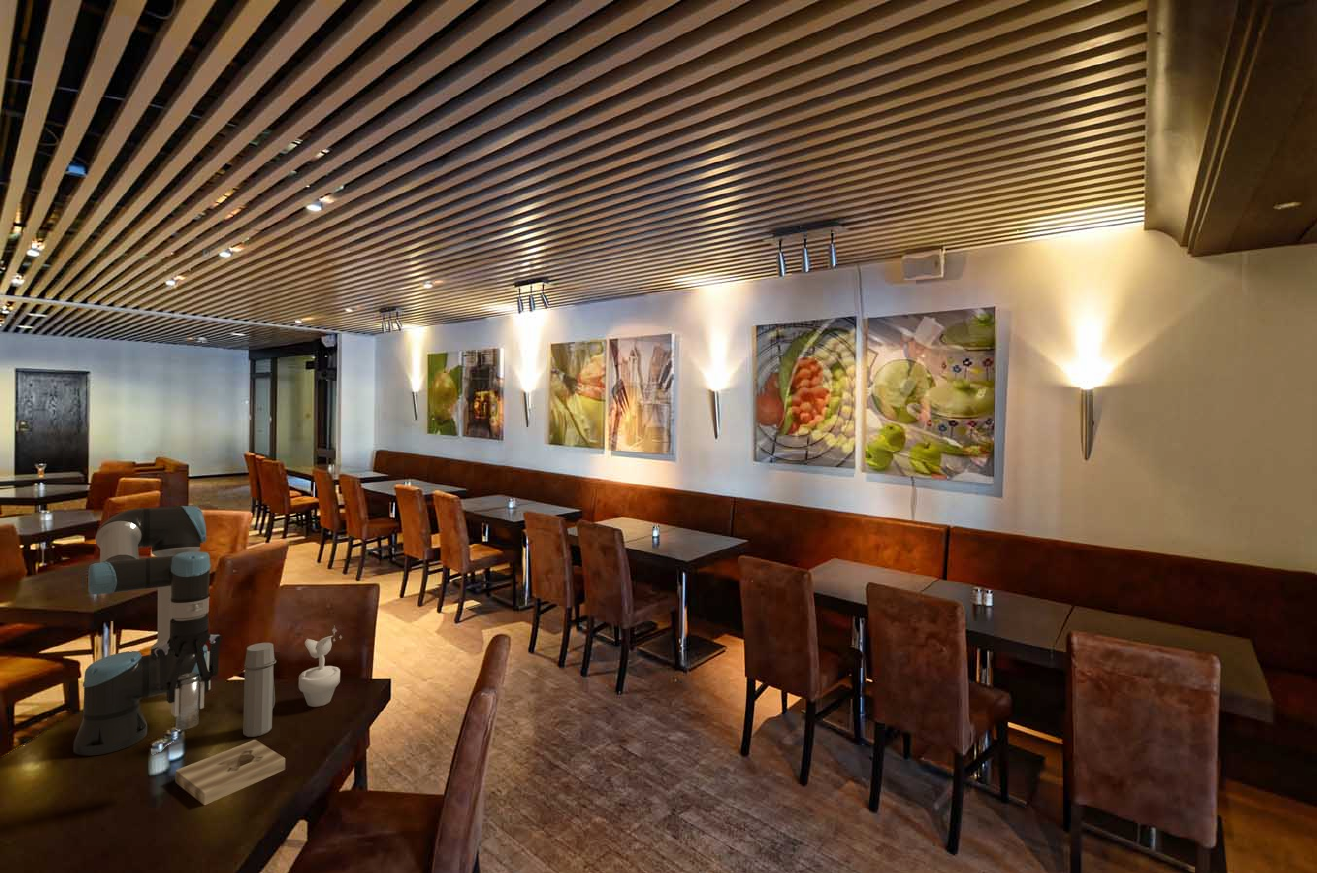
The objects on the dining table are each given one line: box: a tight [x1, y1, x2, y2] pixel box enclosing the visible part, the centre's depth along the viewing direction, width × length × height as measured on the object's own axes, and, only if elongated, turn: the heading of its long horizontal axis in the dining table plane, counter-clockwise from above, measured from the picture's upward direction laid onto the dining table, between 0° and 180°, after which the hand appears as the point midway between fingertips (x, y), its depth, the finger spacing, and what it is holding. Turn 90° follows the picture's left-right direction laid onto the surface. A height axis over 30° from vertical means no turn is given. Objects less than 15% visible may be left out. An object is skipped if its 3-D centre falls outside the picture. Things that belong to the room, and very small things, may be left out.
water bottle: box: [242, 642, 277, 738], centre depth 174 cm, size 9×8×25 cm
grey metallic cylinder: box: [175, 673, 200, 731], centre depth 147 cm, size 4×4×12 cm
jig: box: [174, 739, 286, 806], centre depth 152 cm, size 16×18×3 cm
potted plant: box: [298, 624, 343, 708], centre depth 193 cm, size 13×12×25 cm
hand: (187, 710), depth 147 cm, fingers closed on grey metallic cylinder, 4 cm apart
